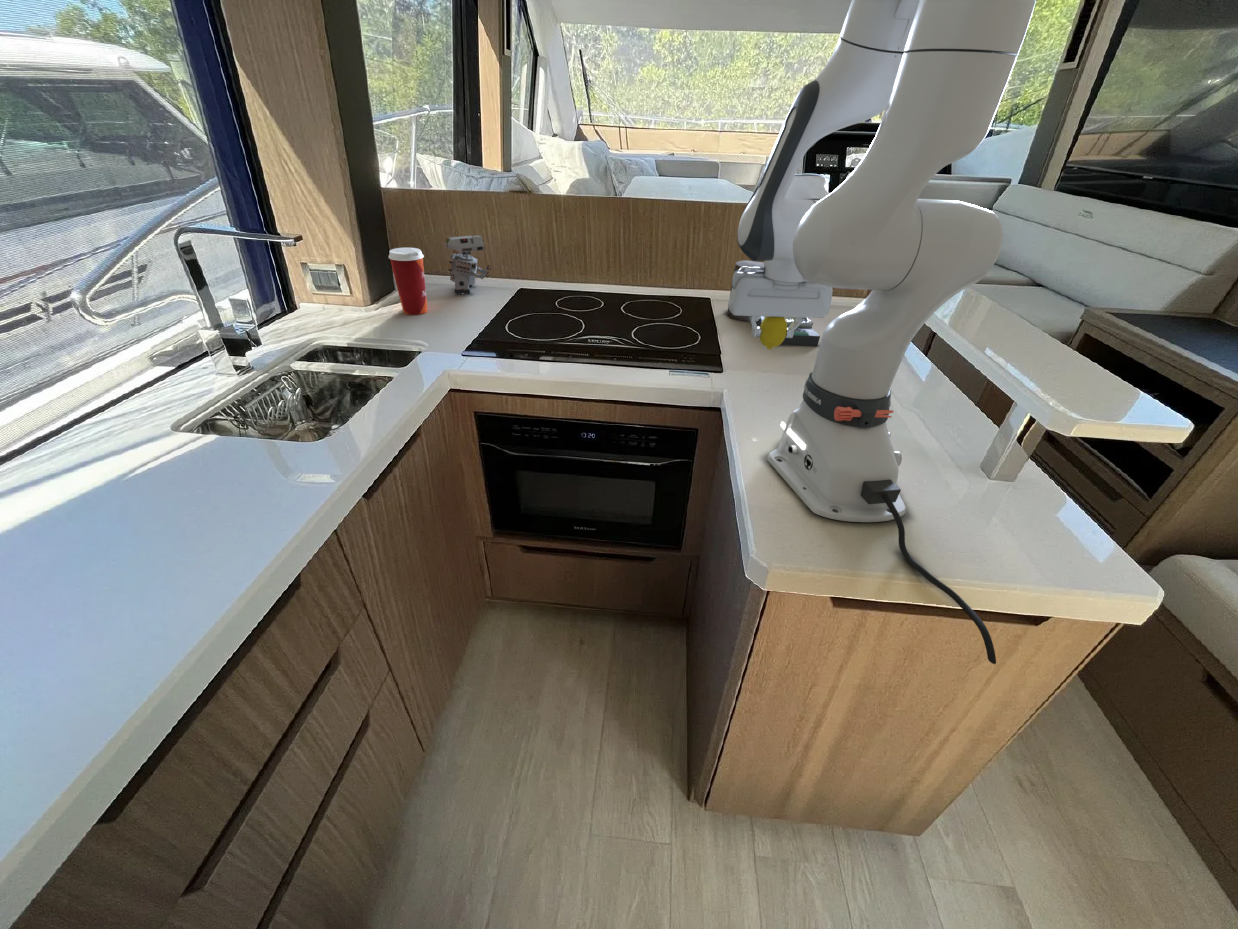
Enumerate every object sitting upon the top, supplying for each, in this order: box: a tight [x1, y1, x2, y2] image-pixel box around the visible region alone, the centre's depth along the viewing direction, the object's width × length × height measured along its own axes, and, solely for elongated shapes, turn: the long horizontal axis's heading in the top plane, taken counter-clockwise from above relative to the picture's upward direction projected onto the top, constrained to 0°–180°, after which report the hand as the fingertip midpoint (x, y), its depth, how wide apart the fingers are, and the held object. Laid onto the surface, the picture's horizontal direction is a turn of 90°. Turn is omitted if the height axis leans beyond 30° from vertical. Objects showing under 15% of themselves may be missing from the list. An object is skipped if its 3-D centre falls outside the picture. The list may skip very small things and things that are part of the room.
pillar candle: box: [726, 260, 764, 322], centre depth 143 cm, size 10×10×15 cm
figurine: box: [445, 234, 492, 296], centre depth 150 cm, size 9×12×15 cm
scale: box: [755, 316, 821, 347], centre depth 136 cm, size 16×12×3 cm
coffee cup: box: [388, 247, 428, 316], centre depth 132 cm, size 8×8×15 cm
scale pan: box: [764, 316, 814, 329], centre depth 135 cm, size 11×10×2 cm
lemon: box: [758, 316, 787, 351], centre depth 109 cm, size 6×6×8 cm
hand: (771, 336), depth 110 cm, fingers closed on lemon, 5 cm apart
